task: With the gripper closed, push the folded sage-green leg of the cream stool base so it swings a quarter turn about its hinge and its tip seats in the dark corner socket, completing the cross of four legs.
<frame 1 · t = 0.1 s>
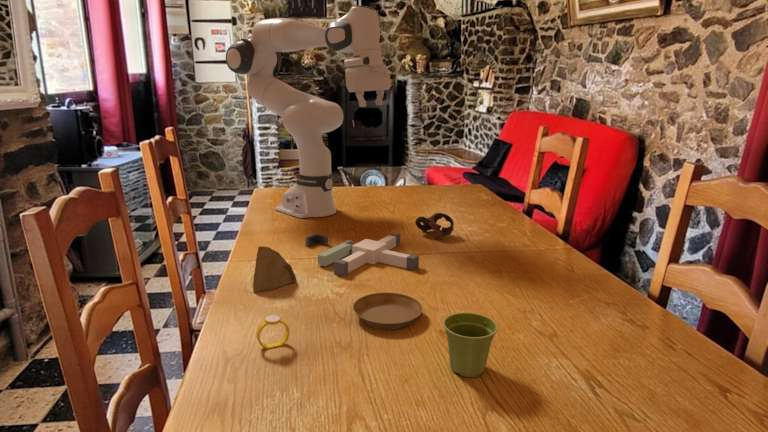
hand: (371, 105, 165), 39 cm above the table, tool pointing down, fingers open, 8 cm apart
plant saucer: (387, 318, 111), on the table
stool base: (369, 258, 144), on the table
rock: (275, 286, 125), on the table
hinged leg: (337, 252, 142), point 2 cm above the table, hinge at 90.0°
leg socket: (315, 245, 153), on the table
pottery mug: (433, 236, 164), on the table
plant pot: (467, 369, 92), on the table
gold ring: (273, 347, 99), on the table
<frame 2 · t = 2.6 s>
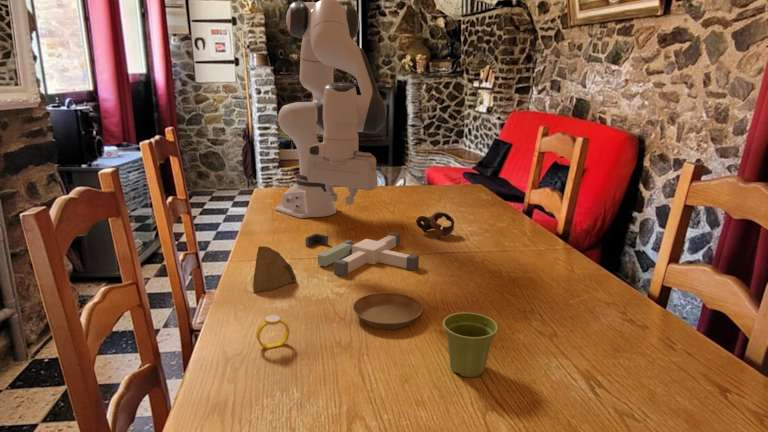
hand: (341, 202, 134), 17 cm above the table, tool pointing down, fingers open, 4 cm apart
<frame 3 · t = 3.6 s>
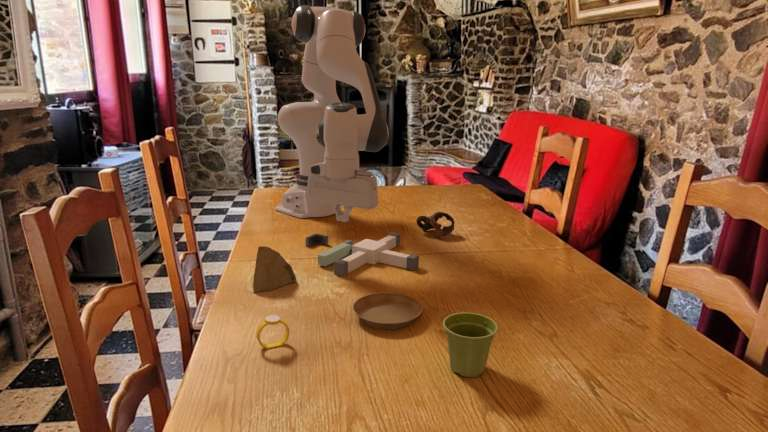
hand: (342, 220, 135), 12 cm above the table, tool pointing down, fingers closed
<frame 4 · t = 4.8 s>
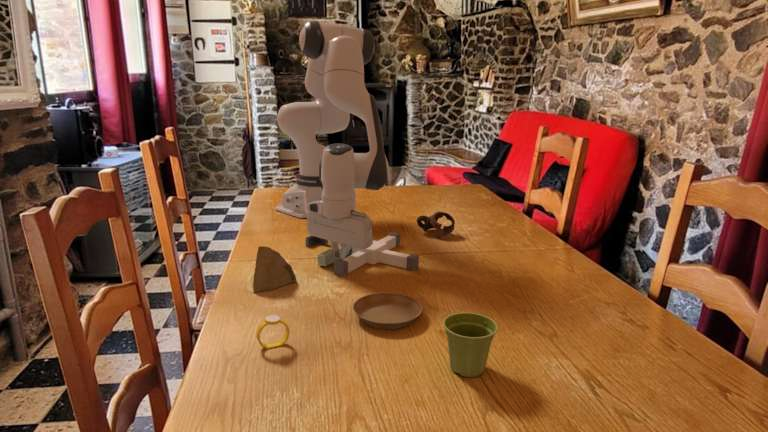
hand: (339, 257, 139), 2 cm above the table, tool pointing down, fingers closed
hinged leg: (337, 252, 142), point 2 cm above the table, hinge at 90.0°, touching gripper
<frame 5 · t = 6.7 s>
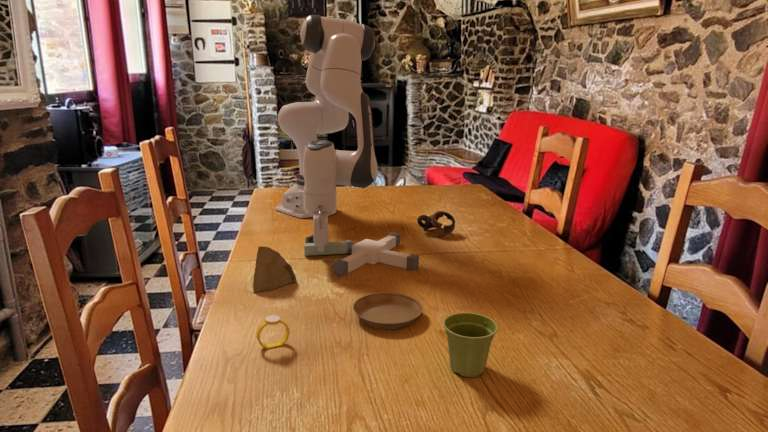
hand: (321, 250, 143), 2 cm above the table, tool pointing down, fingers closed
hinged leg: (328, 247, 146), point 2 cm above the table, hinge at 42.6°, touching gripper
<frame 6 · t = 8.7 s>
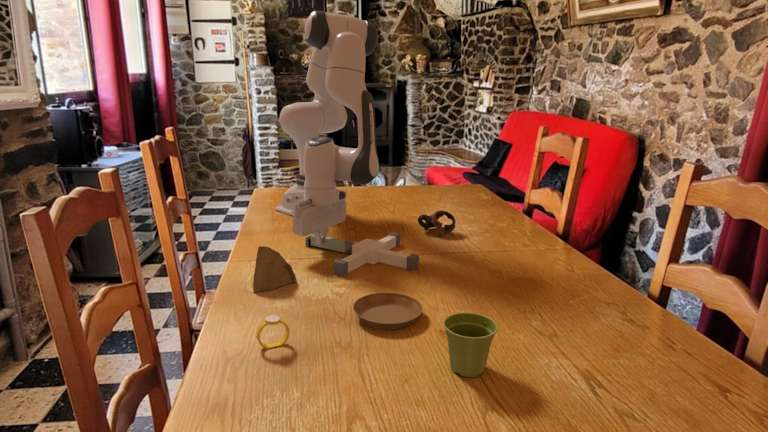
hand: (320, 243, 148), 2 cm above the table, tool pointing down, fingers closed
hinged leg: (332, 243, 149), point 2 cm above the table, hinge at 2.4°, touching gripper
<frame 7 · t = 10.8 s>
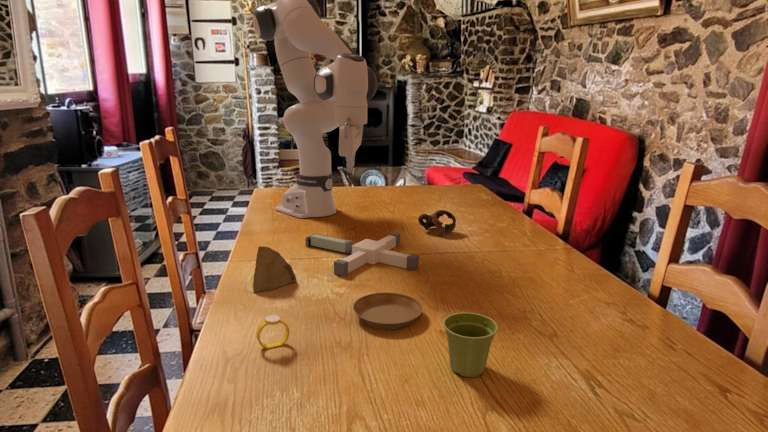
hand: (350, 167, 144), 24 cm above the table, tool pointing down, fingers closed
hinged leg: (332, 243, 149), point 2 cm above the table, hinge at 2.3°
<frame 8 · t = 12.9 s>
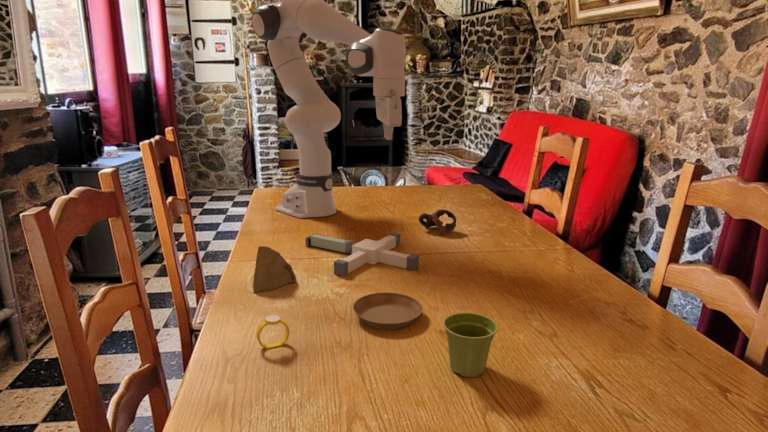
hand: (388, 139, 148), 31 cm above the table, tool pointing down, fingers closed
at the end: hinged leg at +2° (first picture: +90°); hinged leg touching nothing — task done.
